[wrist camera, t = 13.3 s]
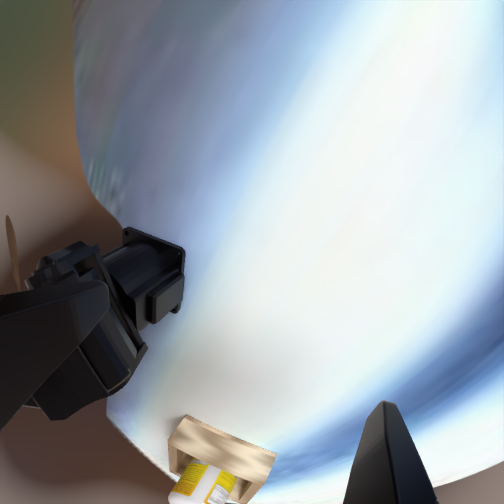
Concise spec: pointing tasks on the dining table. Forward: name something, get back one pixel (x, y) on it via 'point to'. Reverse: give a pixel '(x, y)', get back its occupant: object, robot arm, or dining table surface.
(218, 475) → the supplement bottle
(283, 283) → the dining table surface
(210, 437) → the birch box
